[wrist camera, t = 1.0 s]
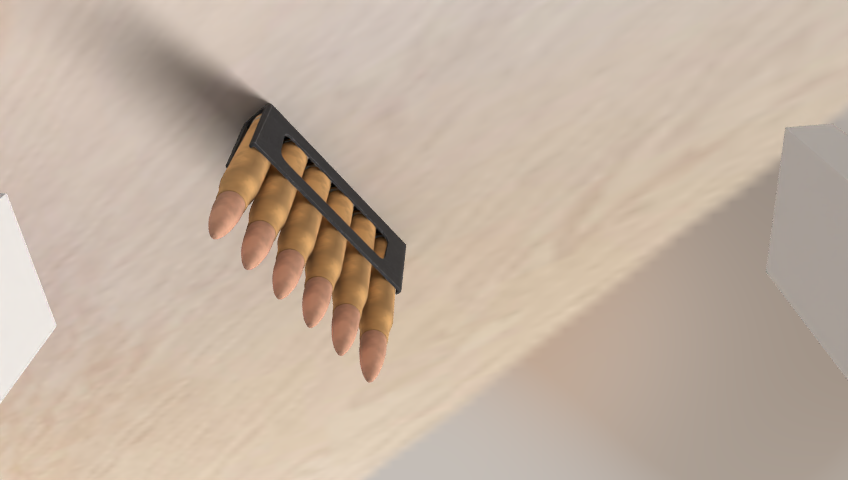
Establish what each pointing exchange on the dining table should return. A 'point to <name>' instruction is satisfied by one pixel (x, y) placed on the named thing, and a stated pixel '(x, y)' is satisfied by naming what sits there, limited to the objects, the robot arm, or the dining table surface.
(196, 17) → the dining table surface
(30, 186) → the dining table surface
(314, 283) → the ammunition clip
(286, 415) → the dining table surface
